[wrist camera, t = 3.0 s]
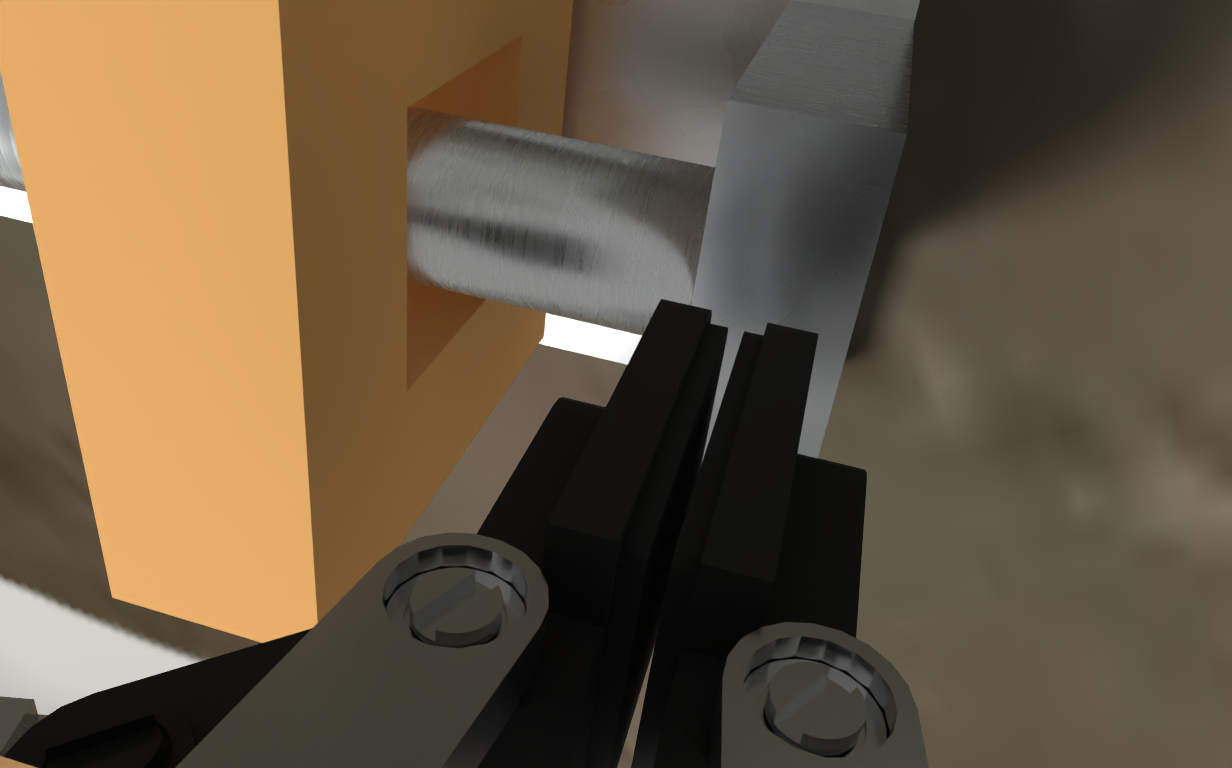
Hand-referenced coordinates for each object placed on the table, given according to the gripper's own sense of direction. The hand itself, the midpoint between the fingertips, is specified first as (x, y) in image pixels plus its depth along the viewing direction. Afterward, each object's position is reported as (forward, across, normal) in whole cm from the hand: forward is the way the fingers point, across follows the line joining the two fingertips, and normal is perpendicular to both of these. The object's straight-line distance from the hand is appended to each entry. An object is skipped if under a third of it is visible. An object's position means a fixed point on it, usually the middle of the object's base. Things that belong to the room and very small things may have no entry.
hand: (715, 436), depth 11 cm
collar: (+8, +6, -1) cm, 10 cm away
